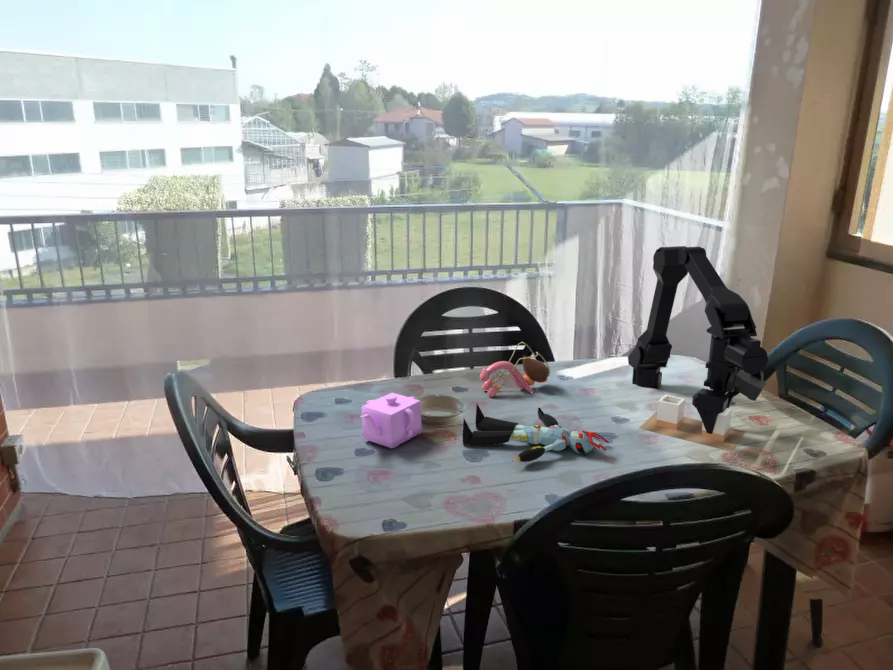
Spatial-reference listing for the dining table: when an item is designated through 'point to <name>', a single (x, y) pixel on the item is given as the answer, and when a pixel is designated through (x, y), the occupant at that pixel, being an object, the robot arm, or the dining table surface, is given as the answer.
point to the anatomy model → (516, 373)
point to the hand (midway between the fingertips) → (715, 426)
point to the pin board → (694, 433)
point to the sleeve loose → (720, 426)
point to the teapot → (391, 419)
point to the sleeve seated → (670, 412)
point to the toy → (528, 435)
